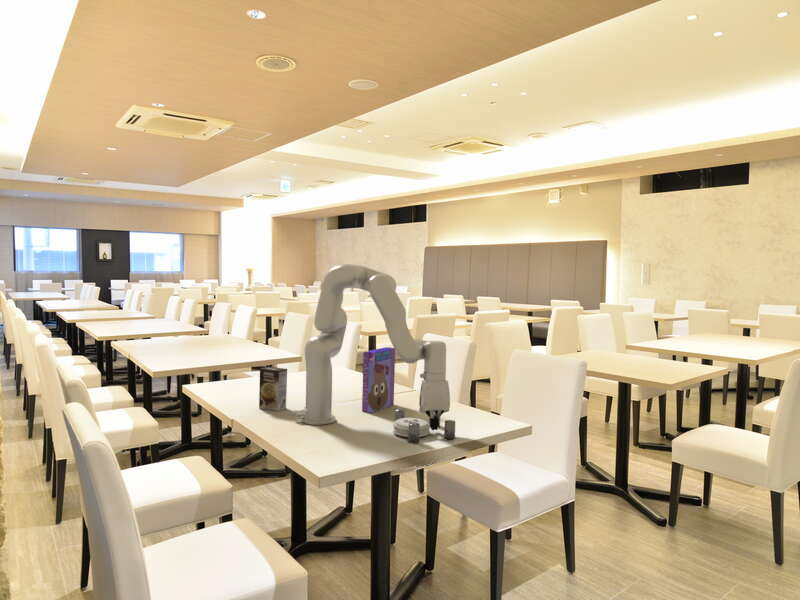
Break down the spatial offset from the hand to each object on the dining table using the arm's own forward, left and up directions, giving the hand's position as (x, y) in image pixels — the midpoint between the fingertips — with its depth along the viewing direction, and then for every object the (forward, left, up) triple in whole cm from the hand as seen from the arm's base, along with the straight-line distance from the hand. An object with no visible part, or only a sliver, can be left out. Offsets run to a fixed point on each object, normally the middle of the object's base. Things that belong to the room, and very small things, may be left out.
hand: (433, 428), depth 193 cm
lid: (-8, 0, -2) cm, 8 cm away
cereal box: (-12, +37, -2) cm, 39 cm away
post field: (-3, 0, -1) cm, 4 cm away
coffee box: (-54, +42, -2) cm, 68 cm away
